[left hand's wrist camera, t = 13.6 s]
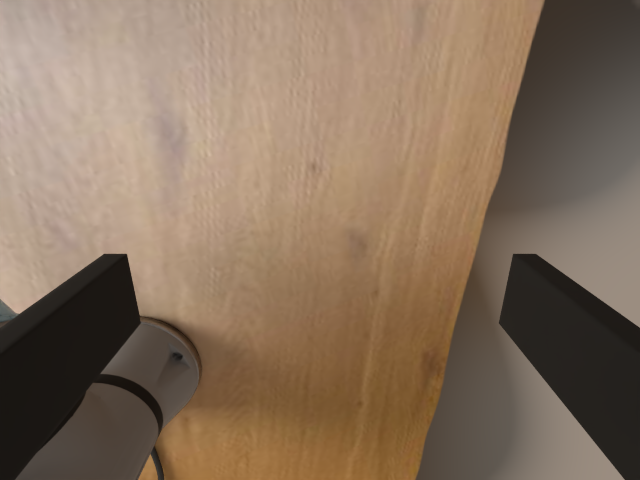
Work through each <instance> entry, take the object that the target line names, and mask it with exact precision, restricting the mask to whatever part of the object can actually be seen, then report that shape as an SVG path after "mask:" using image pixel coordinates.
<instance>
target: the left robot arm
mask: <svg viewBox="0 0 640 480" xmlns="http://www.w3.org/2000/svg"><path fill="white" fill-rule="evenodd" d="M499 324H500V325H501V326H502V328H503V329H504V330H505V331H506V333H507V334H508V335H509V336H510V337H511V339H512V340H513V341H514V342H515V344H516V345H517V346H518V347H519V349H520V350H521V351H522V352H523V354H524V355H525V356H526V357H527V359H528V360H529V361H530V362H531V364H532V365H533V366H534V367H535V369H536V370H537V371H538V372H539V374H540V375H541V376H542V377H543V379H544V380H545V381H546V382H547V383H548V385H549V386H550V387H551V388H552V390H553V391H554V392H555V393H556V395H557V396H558V397H559V398H560V400H561V401H562V402H563V403H564V405H565V406H566V407H567V408H568V410H569V411H570V412H571V413H572V415H573V416H574V417H575V418H576V420H577V421H578V422H579V423H580V425H581V426H582V427H583V428H584V429H585V431H586V432H587V433H588V434H589V436H590V437H591V438H592V439H593V441H594V442H595V443H596V444H597V446H598V447H599V448H600V449H601V451H602V452H603V453H604V454H605V456H606V457H607V458H608V459H609V460H610V462H611V463H612V464H613V466H614V467H615V468H616V469H617V470H618V472H619V473H620V474H621V475H622V477H623V478H624V479H625V480H640V328H639V327H638V326H636V325H635V324H634V323H632V322H631V321H629V320H628V319H627V318H625V317H624V316H622V315H621V314H620V313H618V312H617V311H615V310H614V309H612V308H611V307H610V306H608V305H607V304H606V303H604V302H603V301H601V300H600V299H598V298H597V297H596V296H594V295H593V294H591V293H590V292H589V291H587V290H586V289H584V288H583V287H582V286H580V285H579V284H577V283H576V282H575V281H573V280H572V279H570V278H569V277H567V276H566V275H565V274H563V273H562V272H560V271H559V270H558V269H556V268H555V267H553V266H552V265H551V264H549V263H548V262H546V261H545V260H544V259H542V258H541V257H539V256H538V255H537V254H513V257H512V262H511V267H510V272H509V277H508V282H507V286H506V291H505V296H504V301H503V306H502V311H501V315H500V320H499ZM200 378H201V361H200V358H199V355H198V353H197V351H196V349H195V347H194V346H193V344H192V343H191V342H190V341H189V340H188V338H187V337H186V336H184V335H183V334H182V333H181V332H180V331H178V330H177V329H175V328H174V327H172V326H170V325H168V324H166V323H164V322H162V321H159V320H155V319H152V318H146V317H140V315H139V311H138V306H137V301H136V296H135V291H134V286H133V282H132V277H131V272H130V267H129V262H128V257H127V254H103V255H102V256H101V257H99V258H98V259H96V260H95V261H94V262H92V263H91V264H89V265H88V266H87V267H85V268H84V269H82V270H81V271H80V272H78V273H77V274H75V275H74V276H72V277H71V278H70V279H68V280H67V281H65V282H64V283H63V284H61V285H60V286H58V287H57V288H56V289H54V290H53V291H51V292H50V293H49V294H47V295H46V296H44V297H43V298H42V299H40V300H39V301H37V302H36V303H34V304H33V305H32V306H30V307H29V308H27V309H26V310H25V311H23V312H22V313H20V314H17V313H15V312H14V311H13V310H12V309H11V308H9V307H8V306H7V305H6V304H5V303H4V302H3V301H2V300H1V299H0V480H138V478H139V476H140V474H141V472H142V470H143V468H144V466H145V464H146V462H147V460H148V457H149V455H150V454H151V456H152V458H153V461H154V464H155V466H156V470H157V474H158V480H164V474H163V469H162V466H161V463H160V460H159V457H158V455H157V452H156V450H155V447H154V445H155V443H156V440H157V438H158V436H159V434H160V432H161V430H162V428H163V427H164V426H165V425H166V424H167V423H168V422H169V421H170V420H171V419H172V418H173V417H174V416H175V415H176V414H177V413H178V412H179V411H180V410H181V409H182V408H183V407H184V406H185V405H186V404H187V403H188V402H189V400H190V399H191V397H192V396H193V394H194V393H195V391H196V388H197V386H198V384H199V381H200Z"/></svg>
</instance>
